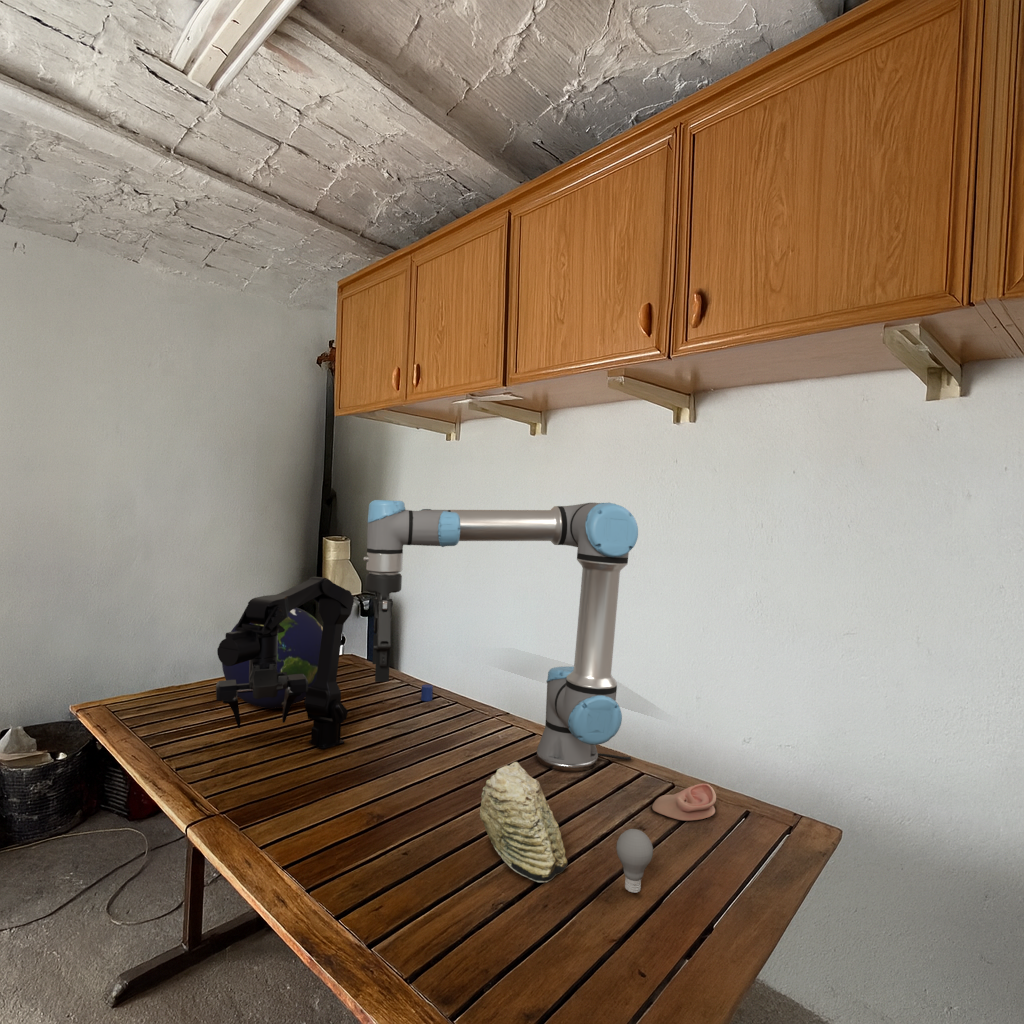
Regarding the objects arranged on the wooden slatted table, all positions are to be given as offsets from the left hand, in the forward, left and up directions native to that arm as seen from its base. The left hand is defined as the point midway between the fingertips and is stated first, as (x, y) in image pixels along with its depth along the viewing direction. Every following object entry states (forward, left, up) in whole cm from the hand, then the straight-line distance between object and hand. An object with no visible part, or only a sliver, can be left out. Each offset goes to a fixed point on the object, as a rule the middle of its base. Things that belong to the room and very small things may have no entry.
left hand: (261, 724), depth 141 cm
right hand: (-14, +24, +14) cm, 31 cm away
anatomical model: (-58, +73, -12) cm, 94 cm away
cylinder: (-64, -18, -12) cm, 68 cm away
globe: (-26, -42, -12) cm, 51 cm away
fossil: (-19, +61, -12) cm, 65 cm away
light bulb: (-24, +81, -12) cm, 85 cm away
